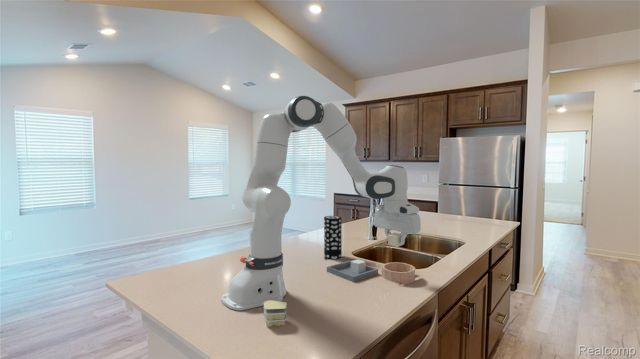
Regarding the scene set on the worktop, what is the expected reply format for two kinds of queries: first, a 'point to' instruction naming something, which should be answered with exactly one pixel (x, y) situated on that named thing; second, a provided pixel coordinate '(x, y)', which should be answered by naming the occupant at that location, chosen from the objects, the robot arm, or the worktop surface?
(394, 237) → the cream small cube
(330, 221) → the spotted tube
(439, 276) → the worktop surface
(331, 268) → the parts tray
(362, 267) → the pale blue cube
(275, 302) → the pale green layered block
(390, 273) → the terracotta bowl
